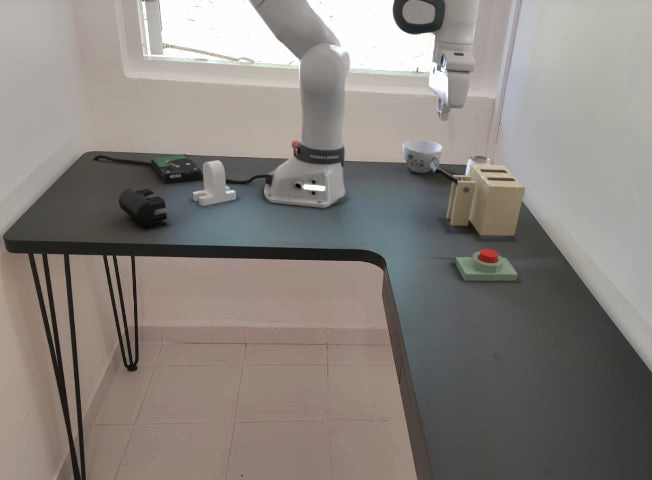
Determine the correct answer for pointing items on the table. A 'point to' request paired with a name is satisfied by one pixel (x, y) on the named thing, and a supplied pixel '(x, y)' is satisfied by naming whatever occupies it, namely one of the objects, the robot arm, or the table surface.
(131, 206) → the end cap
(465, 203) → the lever bracket
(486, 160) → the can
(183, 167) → the disk drive
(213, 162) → the white mounting bracket
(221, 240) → the table surface
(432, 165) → the lever
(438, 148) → the teacup
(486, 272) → the green button base
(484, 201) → the toaster
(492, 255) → the button
